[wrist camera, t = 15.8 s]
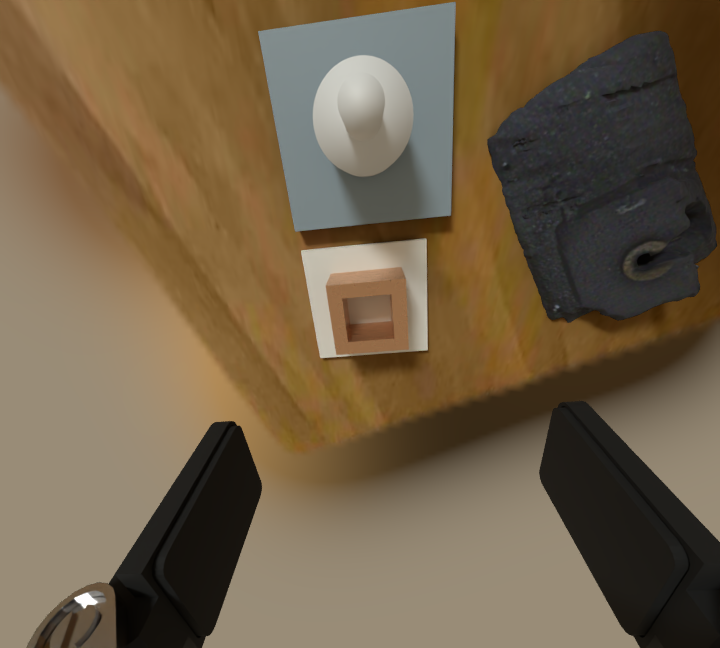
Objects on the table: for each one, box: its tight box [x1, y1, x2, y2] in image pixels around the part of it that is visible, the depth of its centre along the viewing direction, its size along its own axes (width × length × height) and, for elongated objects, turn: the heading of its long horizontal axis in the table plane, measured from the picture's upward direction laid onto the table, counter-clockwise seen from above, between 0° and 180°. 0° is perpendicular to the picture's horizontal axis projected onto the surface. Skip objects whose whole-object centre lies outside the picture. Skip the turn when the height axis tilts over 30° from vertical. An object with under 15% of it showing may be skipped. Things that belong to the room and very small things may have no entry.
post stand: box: [258, 2, 455, 231], centre depth 20 cm, size 14×14×12 cm
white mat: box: [301, 238, 428, 358], centre depth 32 cm, size 12×12×1 cm
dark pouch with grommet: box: [488, 31, 717, 323], centre depth 26 cm, size 15×22×5 cm
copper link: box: [325, 267, 409, 355], centre depth 30 cm, size 7×7×4 cm
